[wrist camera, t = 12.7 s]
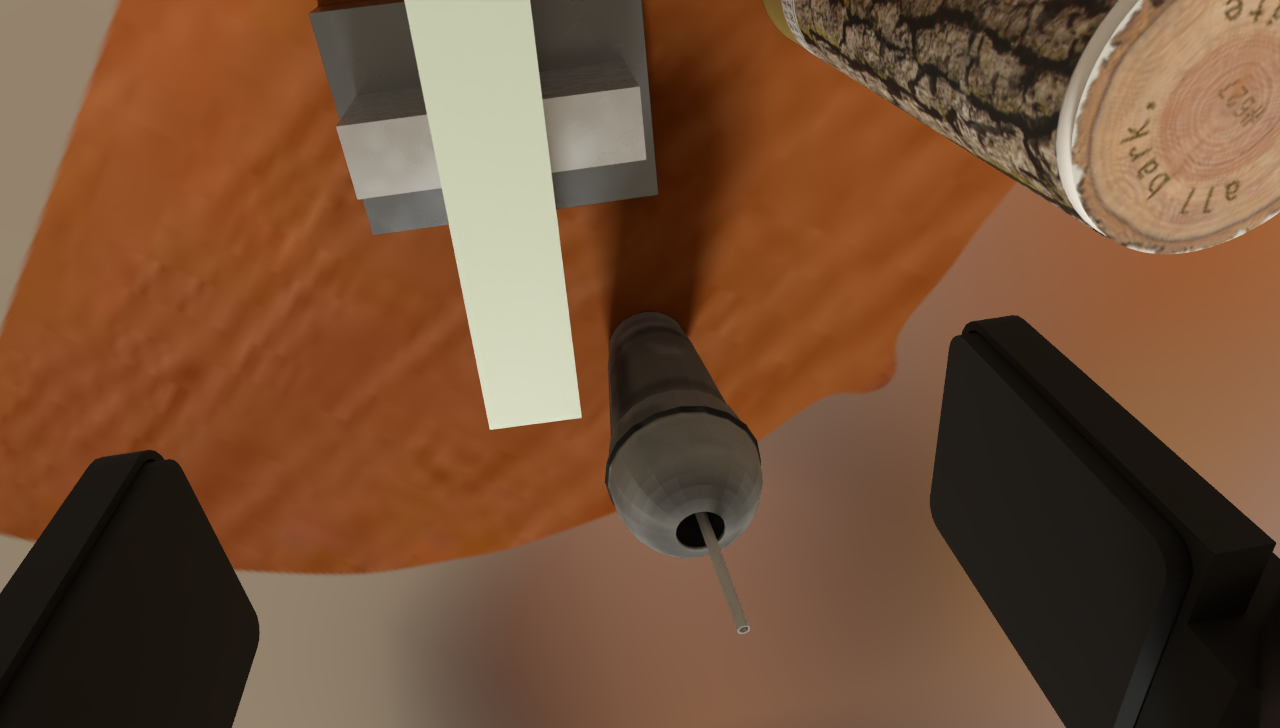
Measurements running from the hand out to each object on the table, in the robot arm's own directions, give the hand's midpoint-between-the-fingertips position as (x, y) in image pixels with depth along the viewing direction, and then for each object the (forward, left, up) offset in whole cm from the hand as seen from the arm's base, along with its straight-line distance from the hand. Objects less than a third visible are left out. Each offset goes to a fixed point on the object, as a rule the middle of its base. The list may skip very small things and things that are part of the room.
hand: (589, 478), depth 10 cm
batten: (+3, -2, -25) cm, 26 cm away
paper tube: (-1, +14, -32) cm, 35 cm away
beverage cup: (+18, +4, -32) cm, 37 cm away
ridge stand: (+3, -2, -32) cm, 33 cm away
